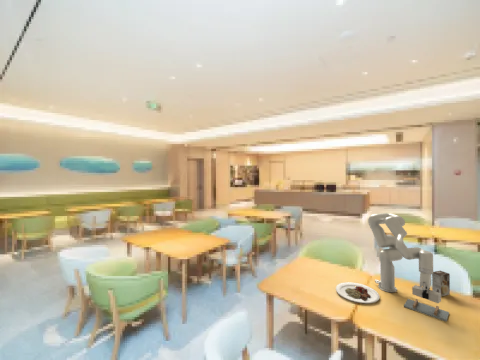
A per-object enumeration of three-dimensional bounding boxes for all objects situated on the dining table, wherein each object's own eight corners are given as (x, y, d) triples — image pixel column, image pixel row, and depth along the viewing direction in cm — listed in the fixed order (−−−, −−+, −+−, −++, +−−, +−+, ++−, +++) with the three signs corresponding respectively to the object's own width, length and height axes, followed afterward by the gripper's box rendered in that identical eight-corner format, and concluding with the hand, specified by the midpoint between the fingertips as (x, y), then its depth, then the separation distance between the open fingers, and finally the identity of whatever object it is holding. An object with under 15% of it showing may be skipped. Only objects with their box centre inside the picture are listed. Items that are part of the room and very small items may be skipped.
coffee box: (440, 290, 176) (440, 270, 176) (450, 294, 170) (450, 273, 169) (431, 292, 174) (431, 271, 173) (441, 296, 167) (441, 275, 167)
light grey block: (412, 294, 156) (412, 287, 156) (415, 292, 159) (415, 285, 158) (438, 303, 144) (438, 295, 144) (441, 301, 147) (441, 293, 147)
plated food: (334, 299, 168) (333, 294, 168) (337, 281, 194) (337, 277, 194) (381, 309, 154) (381, 304, 154) (378, 289, 181) (377, 285, 180)
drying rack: (403, 306, 156) (403, 302, 156) (407, 300, 164) (407, 296, 164) (446, 321, 140) (446, 317, 140) (448, 313, 148) (449, 309, 148)
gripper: (421, 264, 160) (421, 290, 160) (416, 272, 148) (416, 299, 148) (435, 267, 154) (435, 293, 154) (430, 275, 143) (431, 303, 143)
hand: (426, 296), depth 151 cm, fingers closed on light grey block, 5 cm apart
